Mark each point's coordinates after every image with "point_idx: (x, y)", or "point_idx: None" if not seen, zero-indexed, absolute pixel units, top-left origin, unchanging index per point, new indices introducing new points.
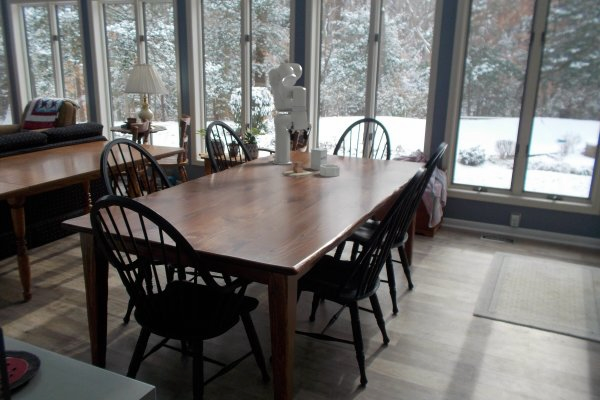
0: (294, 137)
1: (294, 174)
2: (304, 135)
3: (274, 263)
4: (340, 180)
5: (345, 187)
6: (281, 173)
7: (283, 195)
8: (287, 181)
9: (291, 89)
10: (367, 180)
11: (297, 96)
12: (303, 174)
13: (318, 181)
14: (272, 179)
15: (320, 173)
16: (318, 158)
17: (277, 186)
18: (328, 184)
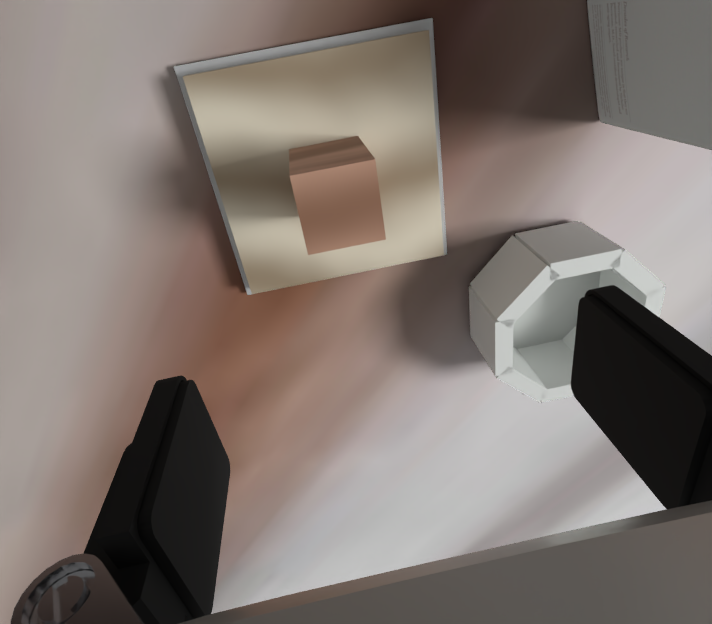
0: (221, 529)
1: (254, 245)
2: (628, 395)
3: None
4: (486, 427)
5: (401, 535)
6: (176, 73)
7: (18, 574)
8: (138, 346)
9: None
10: (606, 465)
11: None
12: (329, 275)
13: (351, 409)
14: (22, 245)
15: (472, 297)
16: (687, 116)
17: (21, 435)
18: (362, 476)
